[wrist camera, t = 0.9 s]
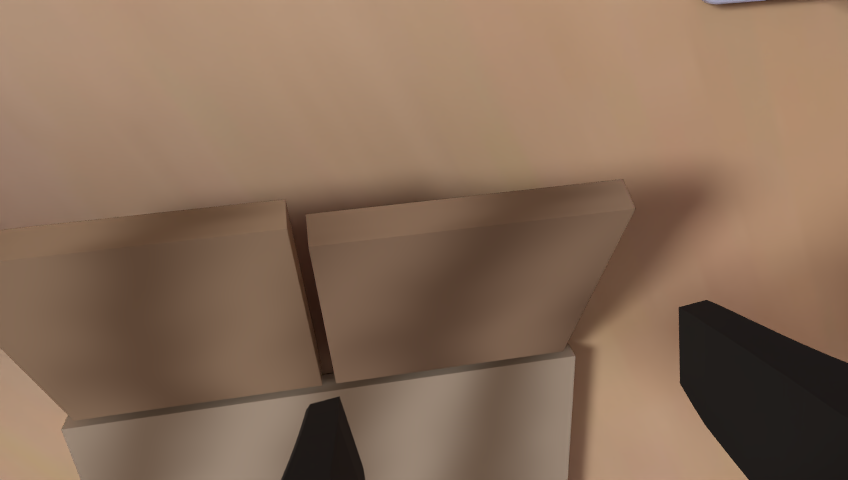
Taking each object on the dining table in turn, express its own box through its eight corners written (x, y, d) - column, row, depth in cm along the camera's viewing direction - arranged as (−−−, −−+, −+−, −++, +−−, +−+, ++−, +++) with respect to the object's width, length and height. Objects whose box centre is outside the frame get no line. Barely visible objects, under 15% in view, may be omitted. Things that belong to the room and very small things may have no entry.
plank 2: (622, 179, 18) (635, 208, 17) (555, 327, 25) (563, 351, 25) (305, 214, 17) (308, 246, 16) (333, 358, 24) (336, 383, 24)
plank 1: (285, 199, 17) (286, 228, 16) (320, 360, 24) (322, 385, 24) (-67, 237, 16) (-79, 270, 15) (78, 393, 23) (74, 420, 23)
